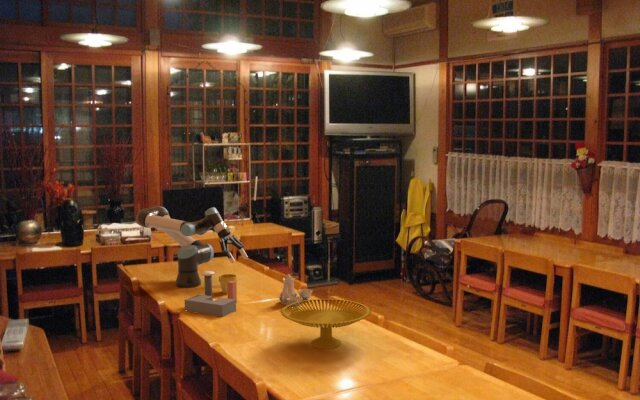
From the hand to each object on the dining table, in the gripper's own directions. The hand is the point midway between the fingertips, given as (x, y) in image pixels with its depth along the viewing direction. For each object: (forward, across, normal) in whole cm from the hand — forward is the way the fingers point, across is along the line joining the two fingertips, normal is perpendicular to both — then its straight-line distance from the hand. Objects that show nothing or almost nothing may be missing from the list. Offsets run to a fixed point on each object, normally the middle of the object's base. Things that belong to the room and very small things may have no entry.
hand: (239, 260), depth 395 cm
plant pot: (+14, -17, +7) cm, 23 cm away
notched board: (+22, -53, -5) cm, 58 cm away
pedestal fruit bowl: (+68, -72, -67) cm, 120 cm away
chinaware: (+42, -21, -30) cm, 56 cm away
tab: (+24, -36, -6) cm, 44 cm away
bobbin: (+17, -41, +3) cm, 45 cm away
